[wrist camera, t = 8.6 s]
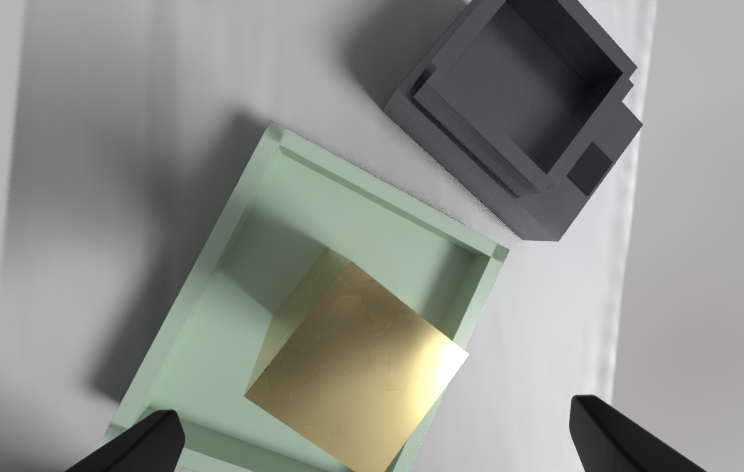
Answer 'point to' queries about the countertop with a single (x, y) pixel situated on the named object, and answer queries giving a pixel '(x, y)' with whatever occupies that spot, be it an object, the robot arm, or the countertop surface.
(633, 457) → the robot arm
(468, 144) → the dark grey stepped fixture
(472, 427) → the countertop surface
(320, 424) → the tan note paper block
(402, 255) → the parts tray
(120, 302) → the countertop surface
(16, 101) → the countertop surface
